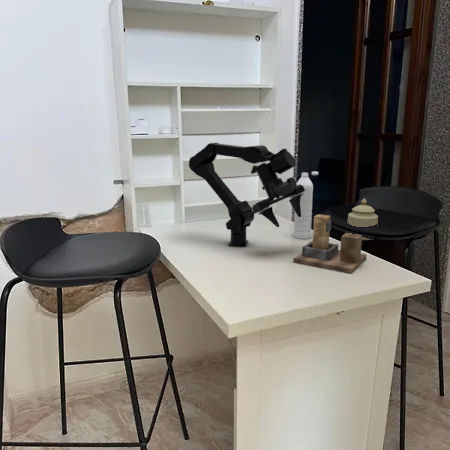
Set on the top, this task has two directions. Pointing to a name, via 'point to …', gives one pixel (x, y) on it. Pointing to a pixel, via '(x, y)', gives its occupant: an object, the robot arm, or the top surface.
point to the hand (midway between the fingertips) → (289, 221)
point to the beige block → (321, 232)
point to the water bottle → (304, 209)
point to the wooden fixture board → (334, 255)
